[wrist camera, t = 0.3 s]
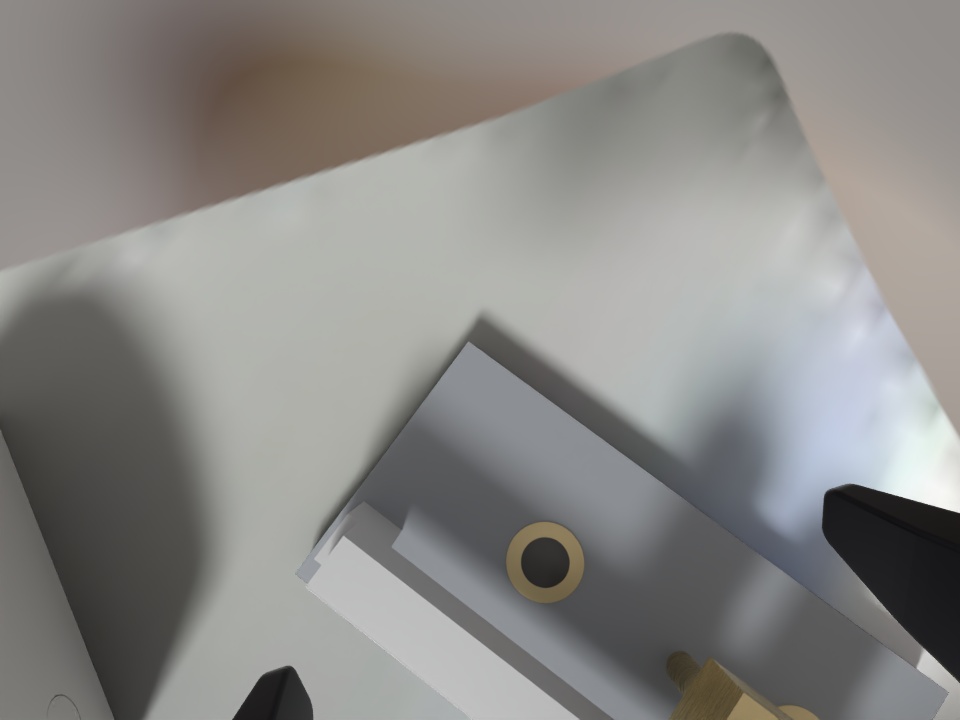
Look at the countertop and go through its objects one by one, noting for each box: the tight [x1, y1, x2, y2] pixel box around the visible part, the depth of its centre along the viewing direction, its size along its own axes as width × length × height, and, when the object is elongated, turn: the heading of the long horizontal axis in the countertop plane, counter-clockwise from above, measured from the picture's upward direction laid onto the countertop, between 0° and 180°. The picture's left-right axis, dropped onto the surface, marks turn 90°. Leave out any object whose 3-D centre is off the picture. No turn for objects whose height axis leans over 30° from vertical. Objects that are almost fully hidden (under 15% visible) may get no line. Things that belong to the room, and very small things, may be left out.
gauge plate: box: [295, 341, 949, 720], centre depth 18 cm, size 24×12×8 cm, turn 54°
